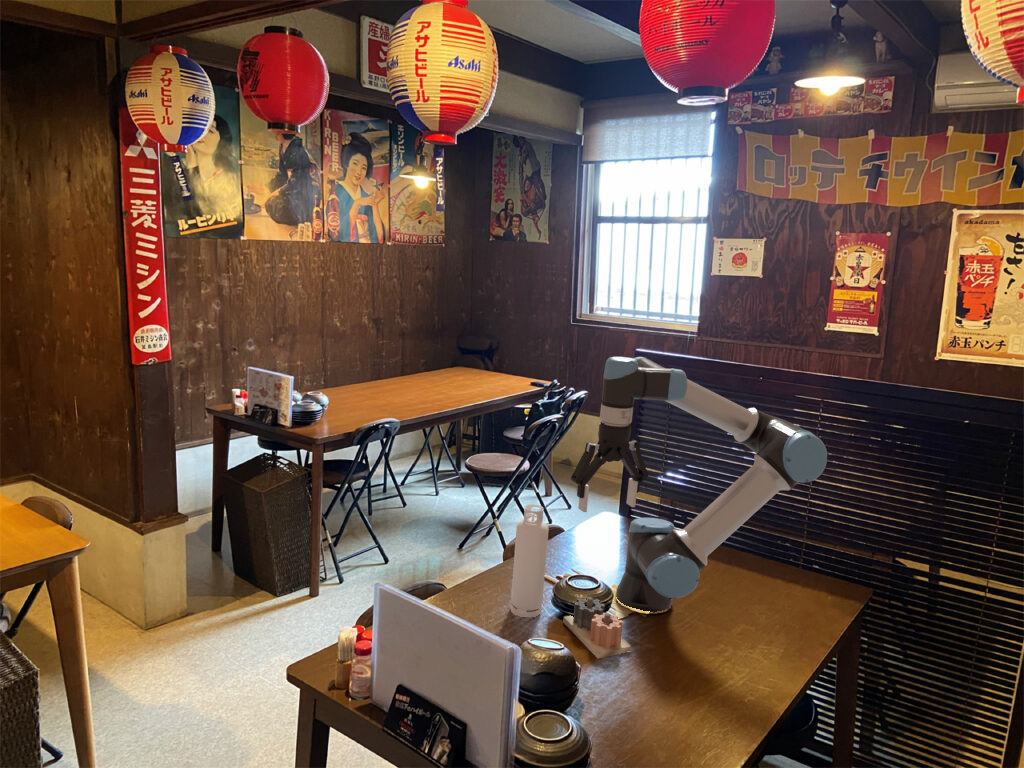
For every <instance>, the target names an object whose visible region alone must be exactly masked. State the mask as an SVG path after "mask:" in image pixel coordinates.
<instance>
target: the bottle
mask: <svg viewBox="0 0 1024 768" xmlns="http://www.w3.org/2000/svg"><path fill="white" fill-rule="evenodd" d="M532 508H539V509H540V510H538V511H537V510H536V511H535V510H532ZM523 512H524V513H523V518H522V519H521V520H520V521H518V523H517V525H516V529H515V544H514V559H513V566H512V567H513V570H512V581H511V582H512V583H511V584H512V585H511V596H510V608H509V609H511V610H510V612H511V613H512V614H513V615H514V614H515V615H514V616H516V615H518V616H521V617H520V618H522V617H534V618H537V617H539V616H540V615H541V614H542V612H541V611H543V605H542V604H543V598H544V587H545V586H544V585H545V575H546V574H545V573H546V564H547V553H548V552H547V551H548V542H549V541H548V539H549V529H550V528H549V525H548V524H547V522H545V521H544V507H543V506H541V505H539V504H532V503H531V504H527V505H525V506H524V511H523ZM539 614H540V615H539ZM538 615H539V616H538ZM518 616H517V617H518ZM536 616H537V617H536Z"/></svg>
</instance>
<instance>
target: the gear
mask: <svg viewBox="0 0 1024 768" xmlns="http://www.w3.org/2000/svg"><path fill="white" fill-rule="evenodd" d="M606 613H607V612H604V613H603V615H598V614H595V615H594V618H593V619H592V622H591V632H590V640H594V641H595V642H594V644H595V645H597V646H599V645H603V646H605V648H610V646H615V647H617V646H619V643H620V642H621V637H622V635H623V626H624V625H623V624H624V622H623V619H619V615H615V614H613V615H611V617H610V624H607V623H604V617H605V614H606Z"/></svg>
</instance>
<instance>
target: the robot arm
mask: <svg viewBox="0 0 1024 768" xmlns="http://www.w3.org/2000/svg"><path fill="white" fill-rule="evenodd" d="M602 378H603V379H602V380H603V382H602V393H601V404H600V412H599V420H600V422H599V423H598V435H597V437H598V441H597V443H591V442H589V441H588V442H586V444H585V447H584V451H583V453H582V455H581V457H580V460H579V461H578V463H577V465H576V467H575V469H574V471H573V473H572V474H571V476H570V480H571V481H572V482H573V483H575V484H577V489H576V496H577V497H578V506H577V507H578V510H580V511H581V512H582V513H587V512H588V502H589V491H590V485H588V483H589V481H590V480H592V478H593V477H594V475H596V473H597V472H598V470H599V469H600V468H601V467H602V466H603V465H605V464H606V462H608V463H612V462H620V461H621V462H622V464H623V465H624V467H625V468H626V470H627V472H628V473H629V474H630V476H631V477H629V478H628V485H627V493H626V505H628V506H629V507H631V508H636V503H637V502H636V501H637V494H638V493H639V492H640V486H641V483H642V482H644V478H645V479H647V478H648V477H649V474H648V470H647V468H646V465H645V461H644V458H643V455H642V452H641V443H640V442H639V441H637V440H635V439H631V431H632V425H631V423H632V421H633V415H634V414H633V413H634V405H635V400H646V401H648V400H649V401H664V402H666V403H669V404H670V405H672V406H675V407H677V408H678V409H681V410H683V411H685V412H686V413H689V414H690V415H693V416H695V417H697V418H698V419H701V420H702V421H705V422H706V423H709V424H711V425H713V426H714V427H717V428H719V429H721V430H723V431H725V432H727V433H729V434H731V435H733V438H734V440H735V441H736V442H739V443H740V444H743V445H744V446H746V447H747V448H749V449H750V450H751V451H753V452H754V453H755V454H754V458H753V459H754V460H753V461H754V462H753V465H752V466H750V468H748V469H747V470H746V471H745V472H744V473H743V474H742V475H741V476H740V477H739V478H737V479H736V480H735V481H734V482H733V483H732V484H731V485H730V486H728V488H727V489H726V490H725V491H723V492H722V493H721V494H720V495H718V497H716V499H715V500H714V501H713V502H711V503H710V504H709V505H708V506H707V507H705V508H704V510H702V511H701V512H700V513H699V514H698V515H697V516H695V517H694V518H693V520H691V521H690V522H689V523H688V524H687V525H686V526H685V527H684V528H682V529H681V528H680V529H677V528H675V525H674V524H673V523H672V522H671V521H669V520H666V519H661V518H657V517H638V518H635V519H632V521H631V522H630V525H629V530H628V540H627V550H626V559H625V569H624V573H623V575H622V577H621V579H620V582H619V583H618V584H617V587H616V591H615V598H616V597H617V599H618V600H619V601H620V602H621V603H623V604H624V605H626V606H629V607H632V608H636V609H640V610H643V611H650V612H657V611H662V610H665V609H668V608H669V607H670V606H671V605H672V606H673V601H674V599H679V598H683V597H686V596H688V595H689V594H691V593H692V592H694V590H695V589H697V586H698V584H699V582H700V580H699V579H700V577H701V576H700V572H702V570H704V568H706V567H707V565H708V556H709V555H710V554H712V552H714V551H715V550H716V549H717V548H718V547H719V546H720V545H721V544H722V543H723V542H725V541H726V540H727V539H728V538H729V537H730V536H731V535H733V534H734V533H735V532H736V531H737V530H738V529H739V528H740V527H741V526H742V525H744V523H746V522H747V521H748V520H750V518H751V517H752V516H754V514H755V513H756V512H758V511H759V510H760V509H761V508H762V507H763V506H764V505H766V504H767V503H768V502H769V501H770V500H771V499H772V498H773V497H774V496H775V495H776V494H778V493H779V492H780V491H790V490H792V489H793V488H794V487H795V486H796V485H798V483H802V484H803V483H804V484H805V483H811V482H813V481H814V480H816V479H818V478H819V477H820V476H821V475H822V473H823V472H824V470H825V469H826V466H827V463H828V451H827V448H826V445H825V444H824V442H823V440H821V439H820V438H819V437H818V436H816V435H815V434H814V433H813V432H811V431H810V430H807V429H804V428H802V427H800V426H798V425H796V424H794V423H793V422H790V421H788V420H785V419H783V418H779V417H777V416H773V415H771V414H768V413H765V412H763V411H760V410H758V409H756V408H755V407H749V408H746V407H744V406H742V405H740V404H738V403H735V402H734V401H731V400H730V399H728V398H726V397H723V396H721V395H720V394H718V393H716V392H714V391H712V390H710V389H708V388H706V387H704V386H702V385H700V384H698V383H695V382H694V381H692V380H690V379H688V377H687V375H686V372H685V371H684V370H683V369H678V368H673V367H672V368H666V367H665V366H663V365H660V364H659V363H656V362H654V361H653V360H651V359H650V358H647V357H645V356H644V357H643V356H636V357H625V356H612V357H611V356H610V357H609V358H607V360H606V361H605V364H604V372H603V377H602ZM630 439H631V440H630ZM629 440H630V441H629ZM629 450H630V453H631V455H632V460H633V461H634V464H635V466H634V464H633V462H632V461H631V459H630V457H629V456H628V454H627V452H628V451H629Z"/></svg>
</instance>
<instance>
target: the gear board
mask: <svg viewBox="0 0 1024 768" xmlns="http://www.w3.org/2000/svg"><path fill="white" fill-rule="evenodd" d="M587 597H588V598H587V600H586V598H581V599H580V597H579V598H577V599H576V602H574V608H573V615H574V617H573V616H571V615H565V616H563V620H562V621H563V624H564V625H565V626H566V627H567V628H568V629H569V630H570V631H571V632H572V633H573V635H575V636H576V638H577V639H578V640H579V641H580V642H581V643H582V644H583V645H584V646H585V647H586V648H587V650H589V652H591V654H593V655H594V657H596V658H597V659H603V658H608V657H612V656H617V654H618V655H622V654H621V653H623V654H626V653H625V652H627V651H632V646H631V644H630V643H628V641H626V640H625V639H624V638H623V637H622V636H621V642H620V643H619V646H617V647H615V646H610V648H605V646H603V645H599V646H597V645H595V644H594V642H595V641H594V640H590V632H591V622H592V619H593V618H594V615H595V614H598V615H603V613H606V614H605V617H604V623H607V624H610V617H611V616H612V615H611V614H610V613H608V612H605V608H606V606H605V603H601V600H600V599H598V598H595V599H594V598H593V597H590V596H587ZM577 602H578V603H577ZM585 605H587V606H585ZM592 606H593V607H592Z"/></svg>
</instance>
